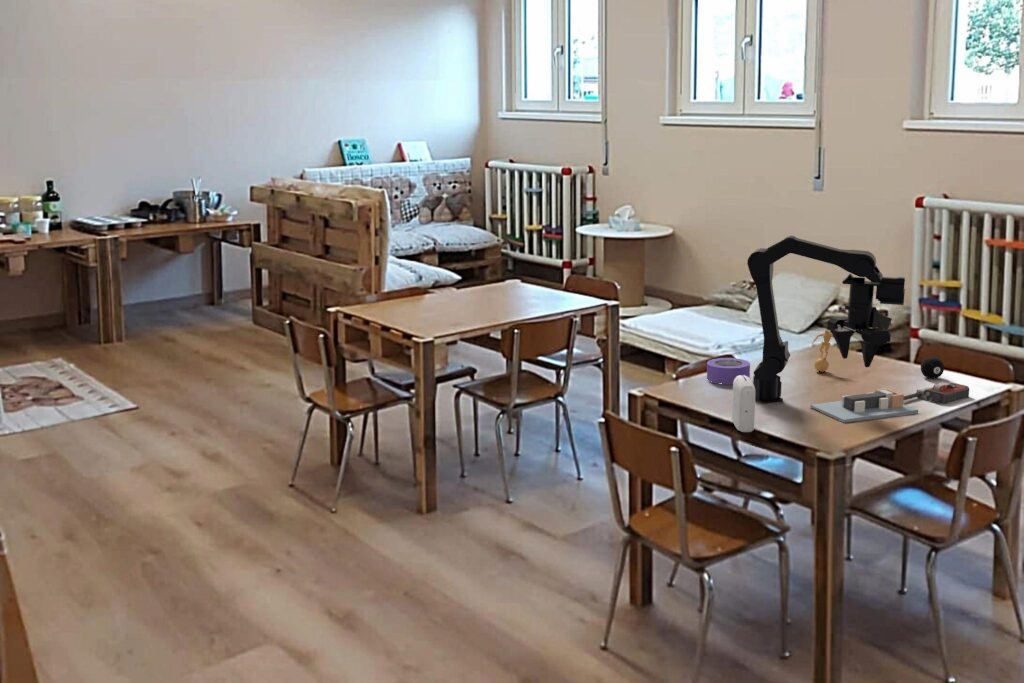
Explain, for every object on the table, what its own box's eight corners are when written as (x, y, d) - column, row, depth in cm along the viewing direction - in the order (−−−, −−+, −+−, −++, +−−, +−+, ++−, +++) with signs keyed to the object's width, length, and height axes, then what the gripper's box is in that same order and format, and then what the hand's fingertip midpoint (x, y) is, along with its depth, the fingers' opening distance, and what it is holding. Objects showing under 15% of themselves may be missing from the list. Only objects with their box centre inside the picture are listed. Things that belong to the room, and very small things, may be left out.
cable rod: (851, 411, 283) (852, 397, 282) (843, 407, 286) (844, 394, 285) (892, 405, 287) (893, 392, 286) (883, 402, 290) (884, 389, 289)
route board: (843, 422, 276) (844, 409, 275) (810, 407, 289) (810, 394, 288) (917, 412, 283) (918, 399, 282) (881, 398, 296) (882, 386, 295)
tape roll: (706, 384, 312) (706, 367, 311) (706, 374, 324) (707, 357, 323) (750, 386, 310) (750, 368, 309) (749, 375, 322) (749, 358, 320)
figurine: (804, 370, 325) (806, 329, 322) (815, 366, 329) (817, 326, 327) (831, 375, 319) (833, 334, 317) (841, 371, 324) (843, 330, 321)
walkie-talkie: (943, 390, 304) (897, 403, 293) (945, 374, 303) (898, 386, 292) (973, 397, 297) (926, 410, 286) (974, 381, 296) (927, 393, 285)
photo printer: (755, 432, 269) (757, 382, 266) (737, 432, 269) (739, 382, 266) (747, 420, 279) (749, 371, 276) (730, 420, 279) (731, 371, 276)
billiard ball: (926, 381, 312) (927, 360, 311) (916, 375, 318) (917, 355, 317) (946, 380, 313) (948, 359, 312) (936, 375, 319) (938, 354, 317)
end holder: (892, 408, 285) (892, 395, 284) (874, 401, 291) (875, 389, 290) (902, 406, 286) (903, 394, 285) (885, 399, 292) (886, 387, 291)
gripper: (911, 307, 277) (906, 369, 281) (864, 293, 294) (860, 352, 298) (873, 310, 273) (868, 372, 277) (828, 296, 291) (823, 355, 294)
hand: (855, 362), depth 287 cm, fingers open, 9 cm apart
